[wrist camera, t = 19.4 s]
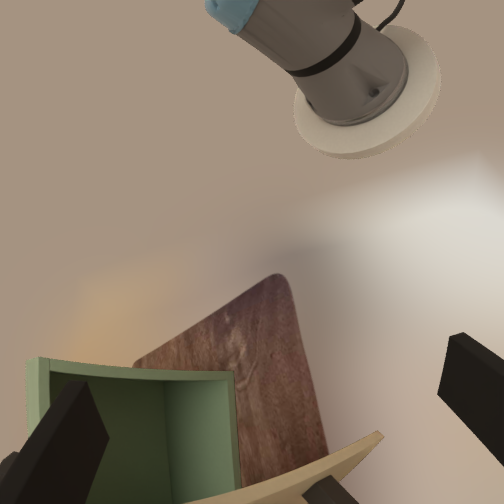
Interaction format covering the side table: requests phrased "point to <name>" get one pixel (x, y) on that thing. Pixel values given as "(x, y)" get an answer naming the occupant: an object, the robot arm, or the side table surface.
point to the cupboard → (151, 429)
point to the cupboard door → (305, 481)
